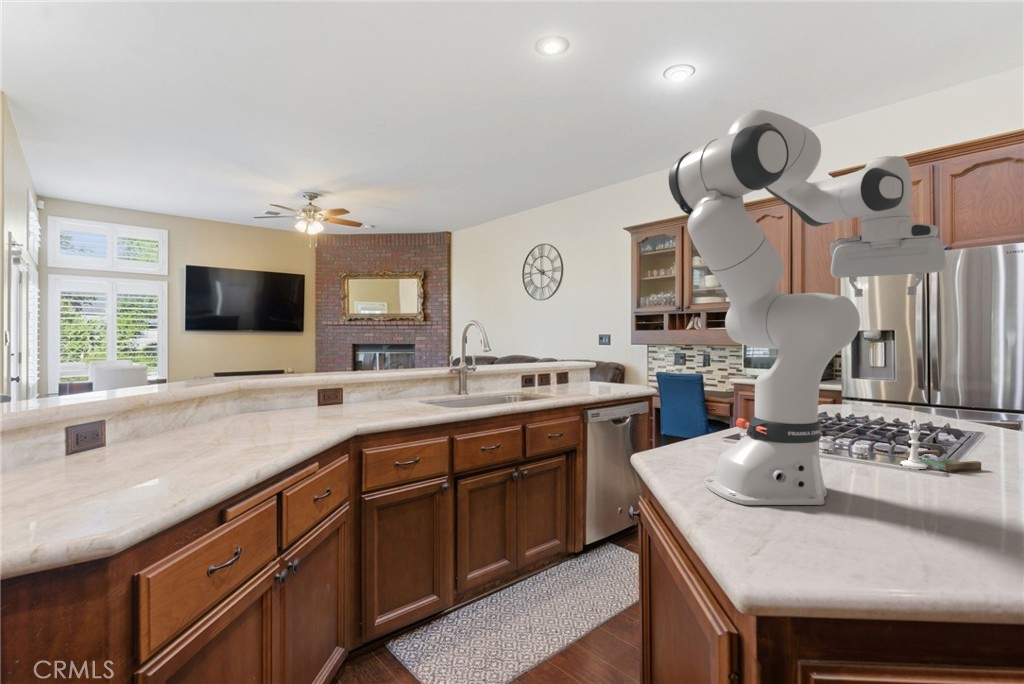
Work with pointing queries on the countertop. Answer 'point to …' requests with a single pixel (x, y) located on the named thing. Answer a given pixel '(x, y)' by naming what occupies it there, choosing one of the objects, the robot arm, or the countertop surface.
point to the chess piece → (914, 450)
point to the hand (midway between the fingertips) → (884, 295)
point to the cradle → (949, 463)
